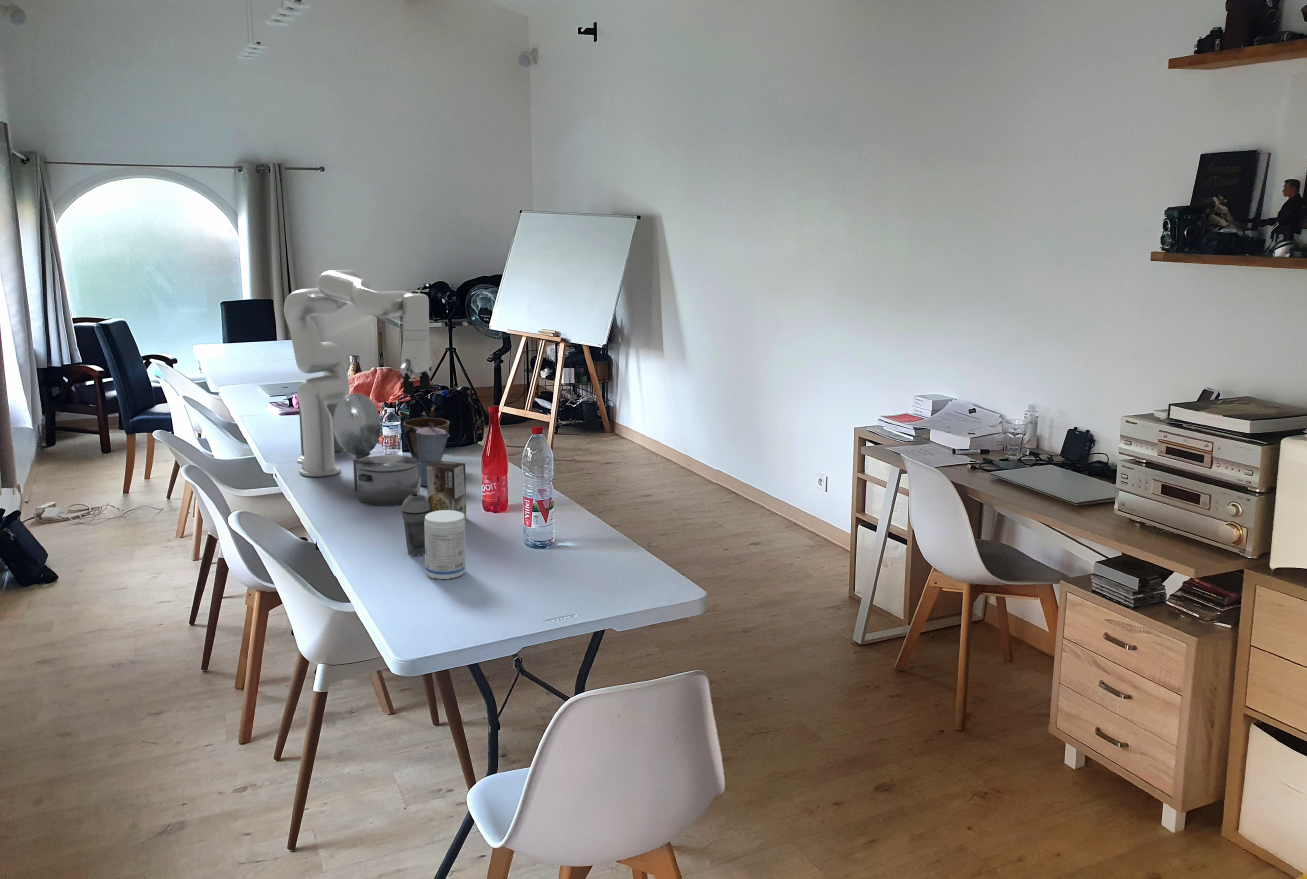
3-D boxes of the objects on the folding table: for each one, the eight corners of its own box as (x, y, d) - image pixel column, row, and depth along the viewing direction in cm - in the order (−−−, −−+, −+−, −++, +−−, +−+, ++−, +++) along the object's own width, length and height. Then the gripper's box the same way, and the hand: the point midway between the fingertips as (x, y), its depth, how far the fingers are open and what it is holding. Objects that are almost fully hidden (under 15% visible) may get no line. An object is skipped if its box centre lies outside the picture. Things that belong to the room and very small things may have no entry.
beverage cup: (405, 548, 247) (402, 473, 243) (433, 548, 248) (432, 473, 243) (400, 558, 240) (397, 481, 236) (429, 558, 241) (427, 481, 236)
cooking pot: (334, 500, 286) (333, 465, 283) (384, 484, 305) (383, 450, 303) (388, 511, 277) (386, 474, 275) (435, 493, 297) (435, 458, 294)
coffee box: (467, 517, 274) (466, 463, 270) (455, 524, 268) (454, 468, 264) (439, 513, 277) (438, 459, 273) (427, 519, 271) (426, 464, 267)
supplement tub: (426, 567, 234) (425, 509, 231) (466, 565, 236) (465, 508, 233) (424, 581, 225) (423, 522, 222) (465, 580, 227) (464, 521, 224)
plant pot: (459, 467, 328) (458, 421, 325) (428, 476, 316) (427, 428, 312) (427, 460, 336) (426, 416, 332) (395, 469, 323) (394, 422, 320)
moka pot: (444, 489, 302) (443, 427, 297) (399, 485, 304) (397, 423, 300) (456, 481, 311) (455, 421, 306) (412, 477, 314) (410, 417, 309)
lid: (342, 463, 284) (334, 464, 285) (385, 451, 300) (377, 451, 302) (331, 398, 281) (323, 399, 282) (375, 389, 297) (367, 390, 299)
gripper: (419, 331, 296) (420, 385, 300) (389, 337, 280) (390, 394, 284) (441, 333, 294) (441, 388, 298) (412, 339, 278) (413, 397, 282)
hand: (416, 391), depth 291 cm, fingers open, 9 cm apart
